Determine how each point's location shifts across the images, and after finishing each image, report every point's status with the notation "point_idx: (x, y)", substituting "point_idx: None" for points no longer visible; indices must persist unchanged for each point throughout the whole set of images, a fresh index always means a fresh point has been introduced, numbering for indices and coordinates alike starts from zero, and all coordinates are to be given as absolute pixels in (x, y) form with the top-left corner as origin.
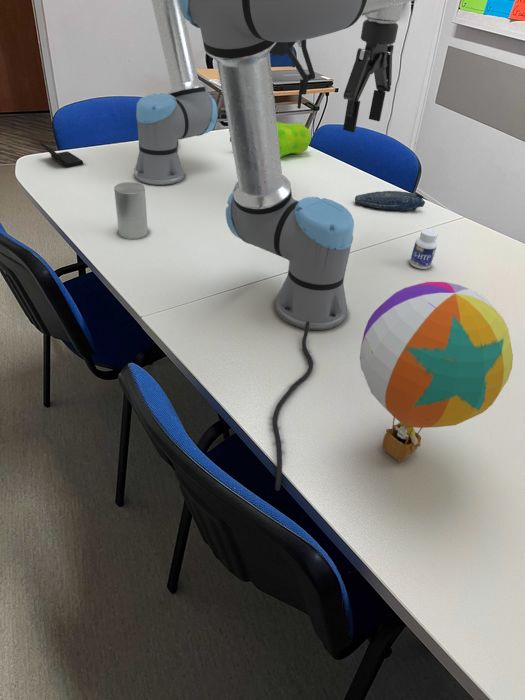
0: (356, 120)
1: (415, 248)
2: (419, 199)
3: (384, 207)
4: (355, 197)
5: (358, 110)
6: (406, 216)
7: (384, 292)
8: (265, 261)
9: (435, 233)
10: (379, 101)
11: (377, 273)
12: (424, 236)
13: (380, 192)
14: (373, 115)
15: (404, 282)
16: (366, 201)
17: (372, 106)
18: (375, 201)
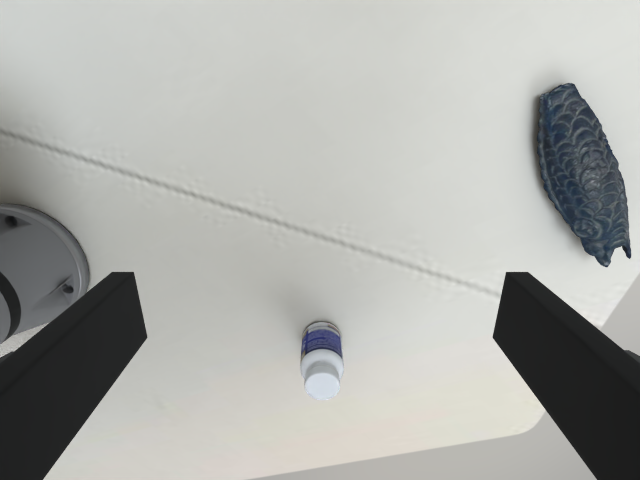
0: (104, 386)
1: (305, 349)
2: (604, 257)
3: (544, 181)
4: (559, 88)
5: (59, 450)
6: (539, 235)
7: (182, 327)
8: (78, 92)
9: (326, 395)
10: (577, 419)
11: (232, 294)
12: (305, 380)
13: (597, 155)
14: (513, 316)
15: (240, 338)
16: (545, 131)
17: (555, 333)
18: (550, 156)
